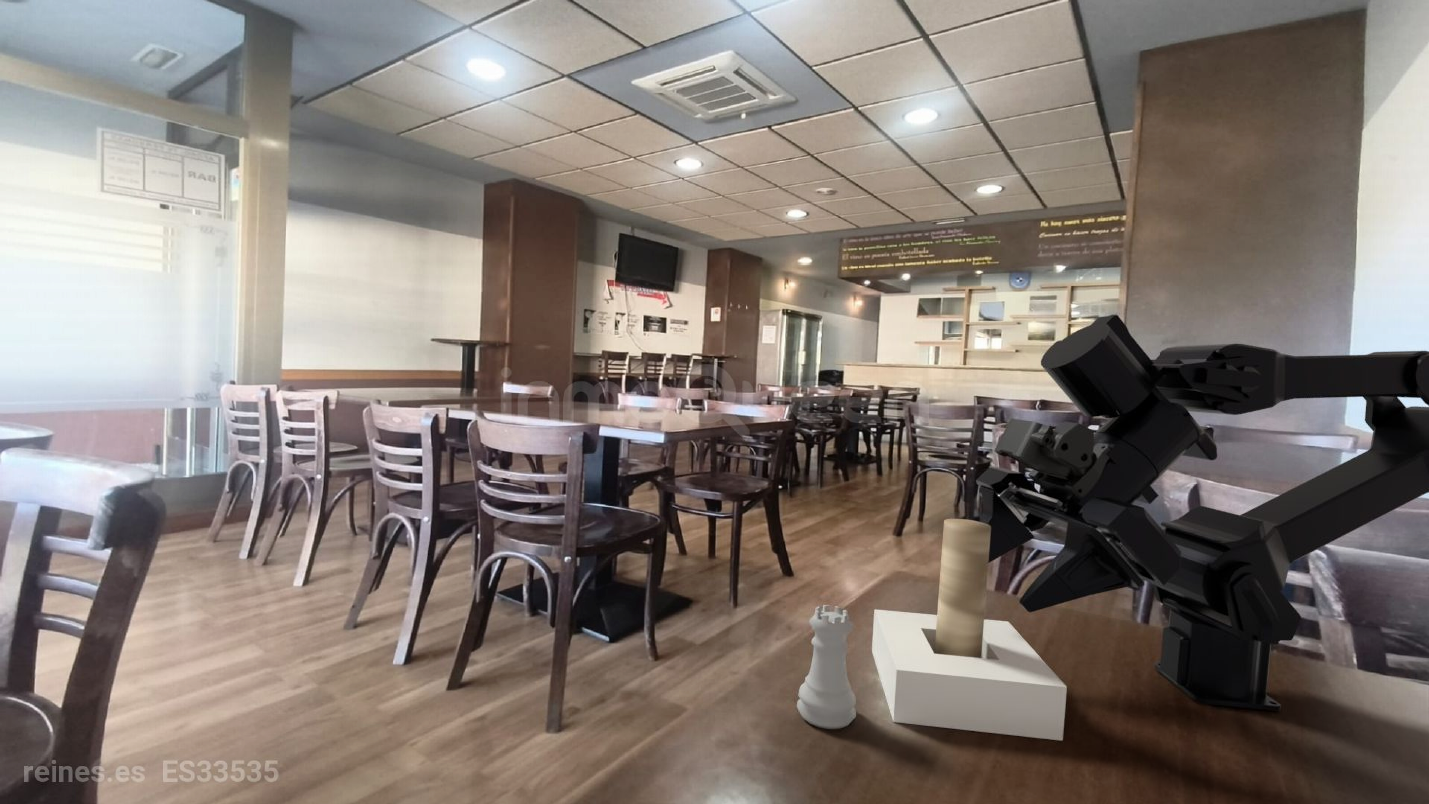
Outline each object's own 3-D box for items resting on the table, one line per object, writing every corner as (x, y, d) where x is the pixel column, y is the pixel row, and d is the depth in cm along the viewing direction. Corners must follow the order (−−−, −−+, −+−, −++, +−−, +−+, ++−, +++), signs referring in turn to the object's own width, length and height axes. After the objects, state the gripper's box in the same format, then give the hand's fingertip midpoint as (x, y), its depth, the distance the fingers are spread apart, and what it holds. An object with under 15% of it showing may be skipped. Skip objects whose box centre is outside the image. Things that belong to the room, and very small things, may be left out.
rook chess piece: (861, 733, 45) (868, 625, 44) (799, 730, 45) (805, 621, 44) (849, 700, 49) (855, 602, 49) (793, 697, 49) (798, 598, 49)
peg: (959, 666, 54) (970, 518, 53) (989, 686, 50) (1001, 528, 50) (924, 669, 53) (935, 519, 52) (952, 691, 49) (963, 529, 49)
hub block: (1005, 664, 57) (1008, 621, 57) (1062, 740, 45) (1066, 687, 45) (871, 651, 58) (874, 609, 58) (893, 721, 46) (896, 669, 46)
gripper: (1001, 384, 60) (886, 494, 60) (1154, 391, 42) (990, 551, 41) (1071, 466, 61) (959, 575, 61) (1251, 508, 43) (1092, 665, 42)
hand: (990, 586), depth 51 cm, fingers open, 9 cm apart
